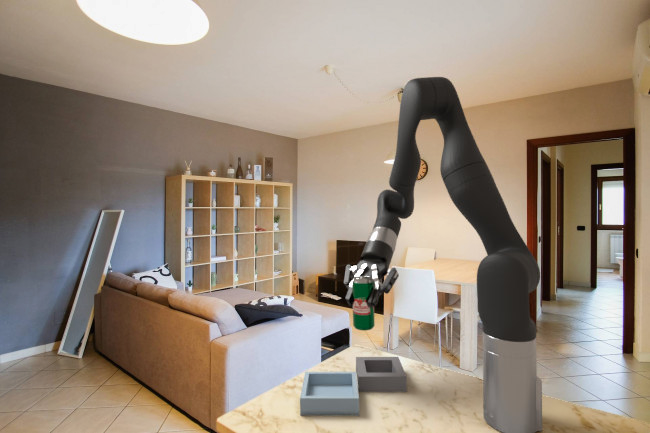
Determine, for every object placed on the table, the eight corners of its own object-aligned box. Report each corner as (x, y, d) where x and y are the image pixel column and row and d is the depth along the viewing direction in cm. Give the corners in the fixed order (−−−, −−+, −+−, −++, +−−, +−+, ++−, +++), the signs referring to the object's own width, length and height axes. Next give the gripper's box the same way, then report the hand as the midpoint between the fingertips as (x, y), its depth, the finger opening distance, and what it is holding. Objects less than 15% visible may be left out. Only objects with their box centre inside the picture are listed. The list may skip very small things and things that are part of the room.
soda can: (350, 329, 82) (348, 278, 82) (357, 323, 86) (355, 274, 86) (371, 332, 80) (369, 279, 80) (377, 325, 84) (375, 275, 84)
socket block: (398, 370, 91) (398, 356, 91) (406, 391, 80) (406, 376, 80) (356, 370, 91) (355, 356, 91) (358, 391, 80) (358, 376, 80)
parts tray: (355, 386, 83) (355, 371, 83) (359, 415, 71) (359, 398, 71) (305, 386, 83) (305, 371, 83) (300, 415, 71) (300, 398, 71)
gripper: (350, 238, 93) (327, 292, 83) (402, 239, 85) (383, 299, 75) (360, 255, 98) (339, 309, 88) (410, 258, 90) (393, 317, 80)
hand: (359, 304), depth 81 cm, fingers closed on soda can, 5 cm apart
